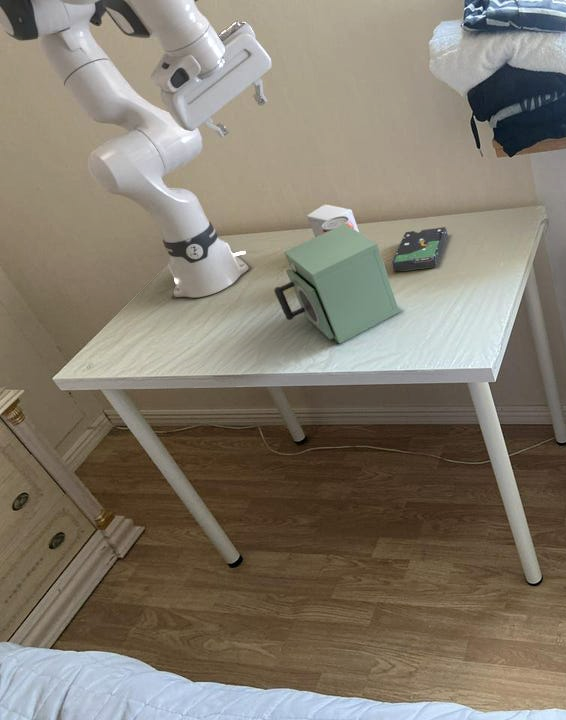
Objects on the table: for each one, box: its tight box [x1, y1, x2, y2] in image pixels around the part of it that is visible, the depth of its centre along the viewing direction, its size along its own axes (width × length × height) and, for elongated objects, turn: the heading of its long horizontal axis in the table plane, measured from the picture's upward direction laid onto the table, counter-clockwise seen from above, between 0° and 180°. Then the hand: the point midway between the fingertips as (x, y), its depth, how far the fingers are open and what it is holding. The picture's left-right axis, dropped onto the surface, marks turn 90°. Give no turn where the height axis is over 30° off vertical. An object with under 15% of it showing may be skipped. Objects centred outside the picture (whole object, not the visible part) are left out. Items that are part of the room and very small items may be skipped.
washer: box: [283, 224, 400, 344], centre depth 142 cm, size 14×15×16 cm
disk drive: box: [391, 226, 449, 272], centre depth 161 cm, size 10×3×15 cm
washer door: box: [274, 268, 334, 340], centre depth 139 cm, size 5×13×11 cm, turn 34°
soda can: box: [322, 216, 355, 234], centre depth 158 cm, size 7×7×13 cm
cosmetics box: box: [306, 203, 360, 238], centre depth 170 cm, size 10×6×10 cm, turn 50°
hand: (243, 118), depth 128 cm, fingers open, 8 cm apart
